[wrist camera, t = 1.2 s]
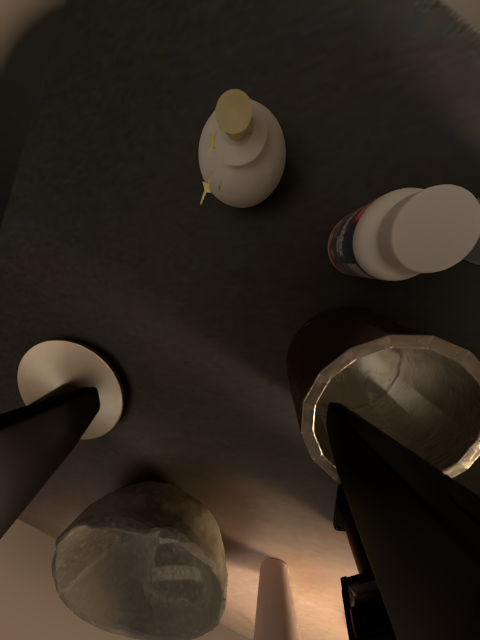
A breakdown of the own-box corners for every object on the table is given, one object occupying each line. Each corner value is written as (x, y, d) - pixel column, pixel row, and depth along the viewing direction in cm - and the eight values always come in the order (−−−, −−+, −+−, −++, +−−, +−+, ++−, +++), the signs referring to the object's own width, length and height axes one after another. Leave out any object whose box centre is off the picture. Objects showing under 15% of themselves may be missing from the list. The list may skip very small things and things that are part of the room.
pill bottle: (345, 201, 18) (421, 144, 10) (402, 226, 18) (528, 193, 10) (315, 261, 20) (357, 259, 11) (368, 285, 20) (452, 301, 11)
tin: (395, 414, 22) (473, 501, 14) (284, 409, 24) (297, 487, 15) (415, 307, 20) (525, 337, 12) (288, 306, 21) (307, 333, 13)
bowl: (130, 561, 32) (87, 656, 24) (79, 462, 28) (10, 538, 20) (251, 551, 29) (247, 655, 21) (212, 441, 25) (192, 518, 18)
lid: (134, 435, 26) (109, 470, 22) (40, 429, 27) (-2, 461, 23) (120, 337, 23) (87, 355, 19) (15, 335, 24) (-40, 351, 20)
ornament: (294, 154, 18) (335, 22, 8) (254, 242, 20) (248, 221, 10) (226, 119, 18) (186, -56, 8) (192, 212, 20) (126, 162, 10)
